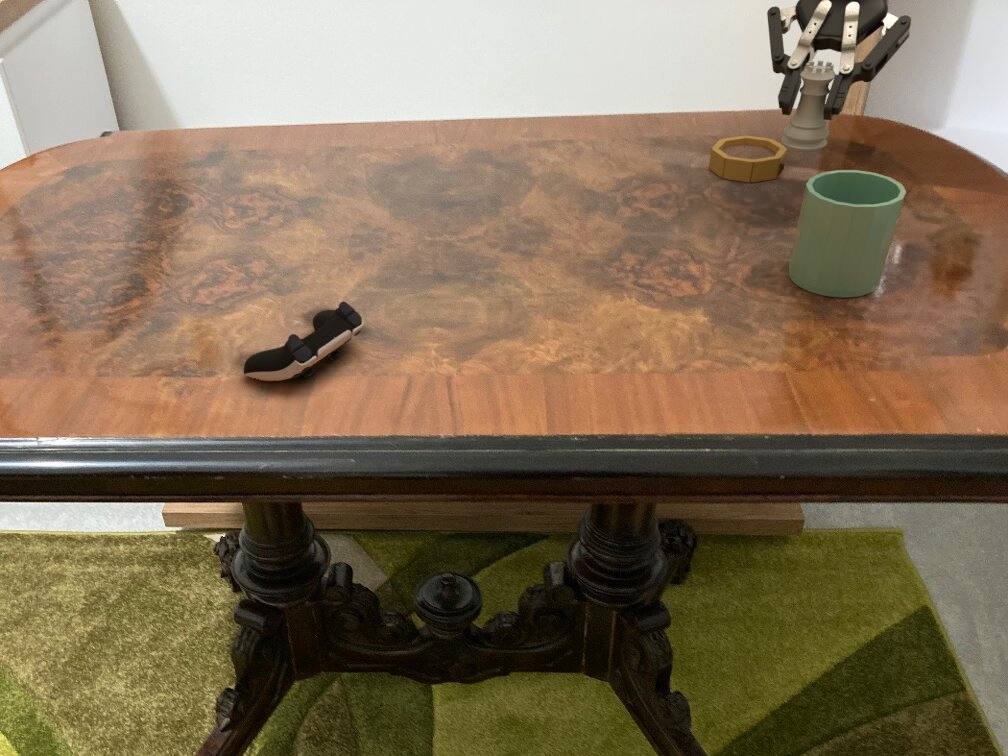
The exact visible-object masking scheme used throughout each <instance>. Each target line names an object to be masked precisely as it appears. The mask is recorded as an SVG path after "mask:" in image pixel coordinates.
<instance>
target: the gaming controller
mask: <svg viewBox="0 0 1008 756" xmlns="http://www.w3.org/2000/svg"><path fill="white" fill-rule="evenodd" d="M312 327H313V330H314V331H313V332H311V333H310V334H308V335H306V336H305V337H304V338H300V336H299V335H297V334H296V333H292V334H290V335H289V336H288V337H287V338H288V339H287V340H286V342H285V343H284V345H282V346H279V347H276V348H275V347H274V348H271V349H266V350H263V351H262V350H261V351H259V352H257V353H254V354H251V355H250V356H249V357H248V358H246V360H245V362H244V365H243V375H244V376H245V375H246V376H245V377H248V376H249V377H248V378H250V377H252V378H251V379H254V378H256V379H255V380H258V379H259V380H258V381H267V382H275V381H277V382H278V381H284V380H289V379H292V378H293V379H296V378H298V377H299V376H303V377H304V378H305V377H307V378H309V377H310V376H312V375H313V374H315V372H317V368H316V367H315V366H316V363H318V362H319V361H320V360H322V359H323V358H329V357H330V356H331V357H330V358H331V359H330V360H332V359H333V360H335V359H336V358H338V357H339V356H340V355H341V354H342V350H340V349H341V347H342V345H344V344H347V343H348V342H350V340H352V339H353V337H356V336H358V335H359V334H360V333H361V331H362V329H363V328H364V320H363V318H362V316H361V314H360V313H359V312H358V311H356V309H355V308H354V307H353V306H351V305H350V304H349V303H348V302H346V301H341V302H339V304H338V307H337V308H335V309H325V310H321V311H319V312H317V313H316V314H315V315H314V317H312ZM334 337H335V338H334ZM338 350H339V351H338ZM339 354H340V355H339ZM329 355H330V356H329ZM338 355H339V356H338ZM328 356H329V357H328ZM335 357H336V358H335ZM334 358H335V359H334ZM313 367H315V368H313ZM312 368H313V369H312ZM303 373H304V374H305V375H304V374H303ZM312 373H313V374H312ZM302 374H303V375H302ZM309 375H310V376H309ZM308 376H309V377H308Z"/></svg>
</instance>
